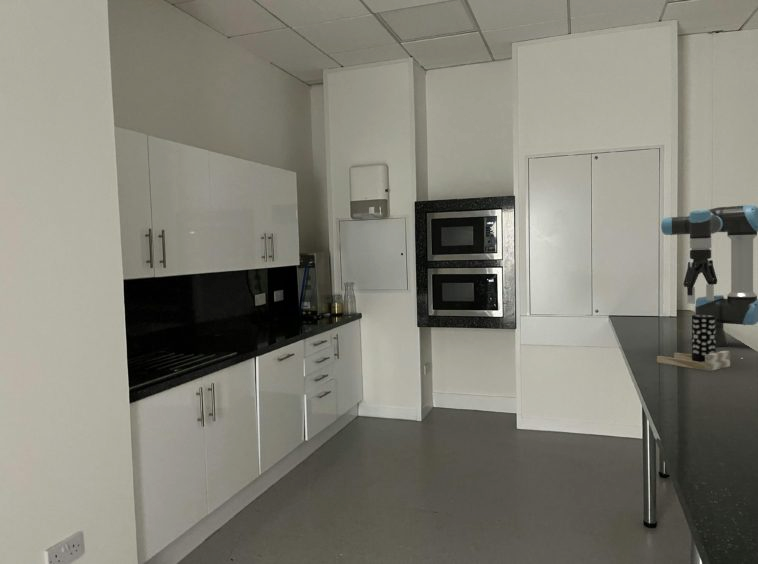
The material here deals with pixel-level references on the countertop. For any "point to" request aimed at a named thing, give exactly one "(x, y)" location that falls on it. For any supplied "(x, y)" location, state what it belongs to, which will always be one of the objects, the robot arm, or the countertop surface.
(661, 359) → the guide channel
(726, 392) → the countertop surface
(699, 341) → the white-spotted black cylinder
